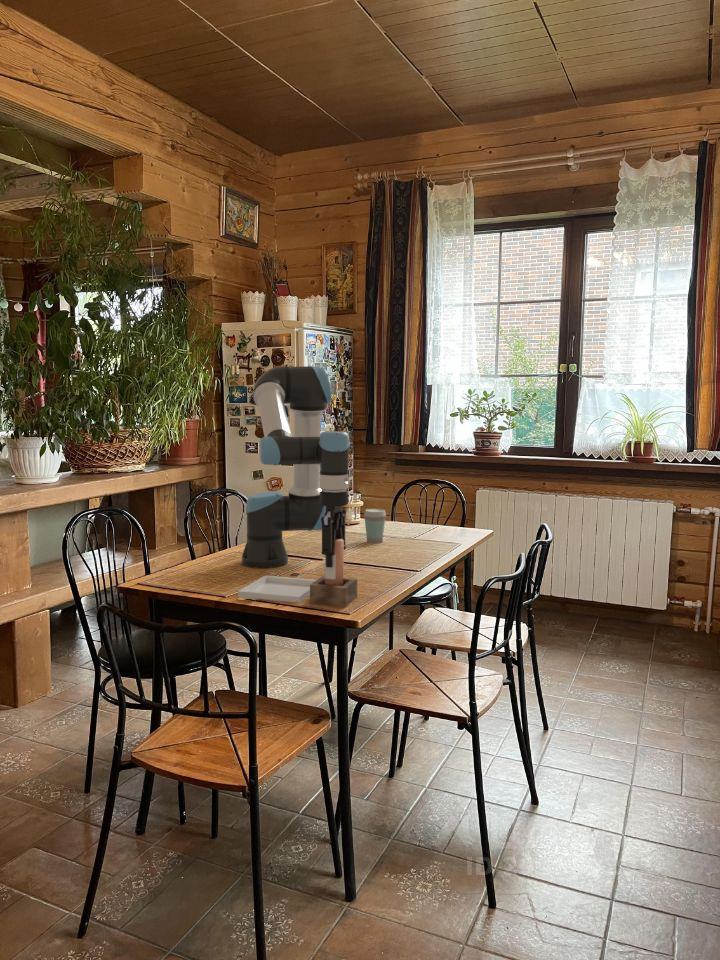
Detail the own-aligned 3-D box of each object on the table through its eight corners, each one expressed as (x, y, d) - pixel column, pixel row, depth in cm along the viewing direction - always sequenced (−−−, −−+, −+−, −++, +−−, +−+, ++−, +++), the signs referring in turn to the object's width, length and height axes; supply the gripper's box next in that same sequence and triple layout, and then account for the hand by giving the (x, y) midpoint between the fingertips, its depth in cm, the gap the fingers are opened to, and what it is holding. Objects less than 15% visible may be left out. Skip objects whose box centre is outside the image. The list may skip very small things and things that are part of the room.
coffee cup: (386, 543, 276) (386, 512, 274) (363, 543, 276) (363, 512, 274) (385, 539, 284) (386, 508, 283) (363, 539, 284) (363, 508, 283)
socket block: (309, 607, 195) (309, 585, 195) (322, 597, 205) (322, 575, 204) (345, 610, 192) (345, 588, 192) (357, 600, 202) (357, 578, 201)
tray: (237, 600, 201) (237, 591, 201) (265, 583, 219) (265, 575, 218) (299, 606, 196) (299, 596, 196) (322, 588, 213) (322, 580, 213)
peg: (321, 600, 197) (322, 541, 195) (328, 595, 202) (328, 537, 200) (339, 601, 196) (340, 542, 193) (345, 596, 200) (346, 539, 198)
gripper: (336, 495, 185) (336, 585, 188) (357, 486, 202) (357, 569, 205) (308, 494, 187) (308, 583, 190) (331, 485, 204) (331, 567, 207)
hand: (333, 575), depth 198 cm, fingers closed on peg, 5 cm apart
